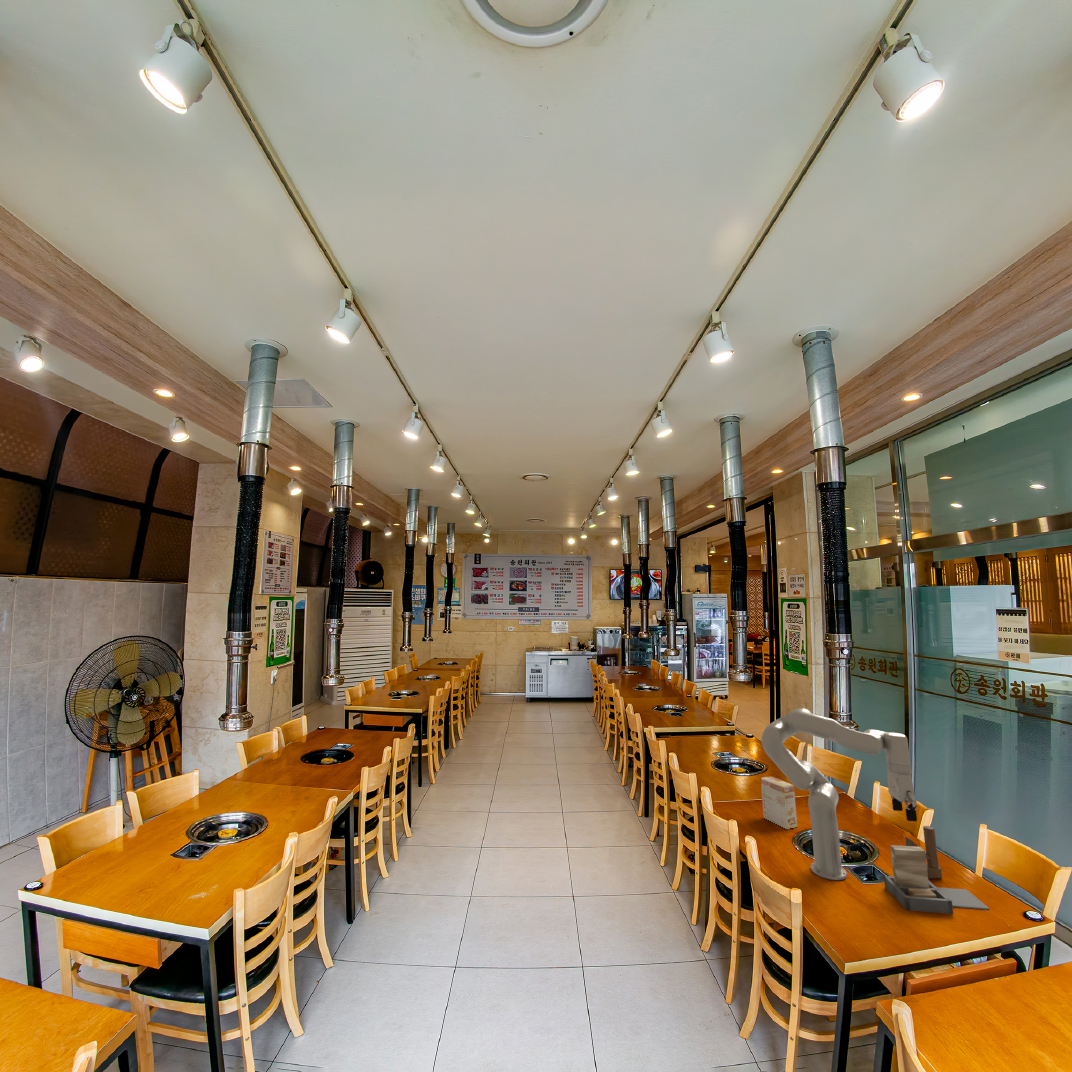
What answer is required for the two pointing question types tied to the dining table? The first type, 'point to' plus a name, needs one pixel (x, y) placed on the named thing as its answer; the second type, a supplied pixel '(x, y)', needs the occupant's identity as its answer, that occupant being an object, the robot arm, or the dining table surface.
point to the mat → (963, 898)
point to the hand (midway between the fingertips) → (904, 815)
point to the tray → (919, 898)
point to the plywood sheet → (909, 866)
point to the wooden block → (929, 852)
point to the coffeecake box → (779, 802)
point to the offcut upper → (921, 893)
